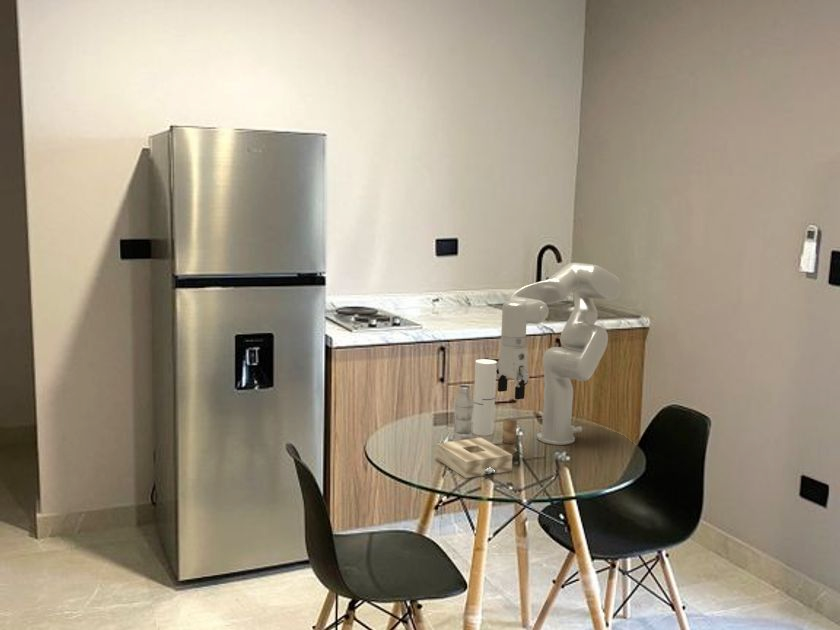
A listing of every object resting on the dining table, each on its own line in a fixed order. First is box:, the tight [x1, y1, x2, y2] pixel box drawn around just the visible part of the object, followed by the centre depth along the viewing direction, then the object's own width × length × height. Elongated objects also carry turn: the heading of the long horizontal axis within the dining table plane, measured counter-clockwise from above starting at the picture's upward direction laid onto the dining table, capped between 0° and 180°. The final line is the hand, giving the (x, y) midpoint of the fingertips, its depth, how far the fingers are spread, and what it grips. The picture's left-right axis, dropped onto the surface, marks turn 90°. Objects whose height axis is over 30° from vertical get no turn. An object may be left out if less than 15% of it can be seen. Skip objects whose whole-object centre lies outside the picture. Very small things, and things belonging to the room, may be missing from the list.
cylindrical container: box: [472, 358, 498, 437], centre depth 292 cm, size 7×7×25 cm
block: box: [435, 437, 513, 479], centre depth 261 cm, size 16×18×5 cm
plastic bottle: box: [452, 384, 474, 441], centre depth 277 cm, size 6×7×20 cm
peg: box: [501, 417, 518, 460], centre depth 268 cm, size 4×4×12 cm
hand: (510, 395), depth 266 cm, fingers open, 9 cm apart
